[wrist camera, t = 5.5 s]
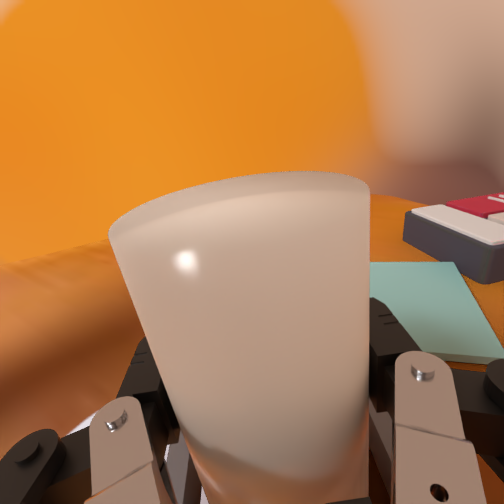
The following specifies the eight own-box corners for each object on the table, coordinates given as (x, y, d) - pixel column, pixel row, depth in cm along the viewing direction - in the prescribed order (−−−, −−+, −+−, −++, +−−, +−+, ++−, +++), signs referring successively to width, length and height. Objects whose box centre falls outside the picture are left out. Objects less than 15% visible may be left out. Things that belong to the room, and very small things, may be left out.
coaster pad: (304, 347, 22) (303, 341, 22) (320, 267, 32) (320, 262, 32) (507, 366, 18) (509, 358, 18) (452, 267, 28) (453, 261, 28)
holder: (515, 714, 8) (536, 685, 7) (142, 765, 9) (111, 743, 8) (366, 394, 18) (366, 362, 17) (190, 422, 18) (180, 392, 17)
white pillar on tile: (396, 607, 10) (433, 218, 5) (222, 630, 11) (47, 280, 5) (329, 401, 18) (311, 154, 12) (228, 416, 18) (162, 179, 12)
